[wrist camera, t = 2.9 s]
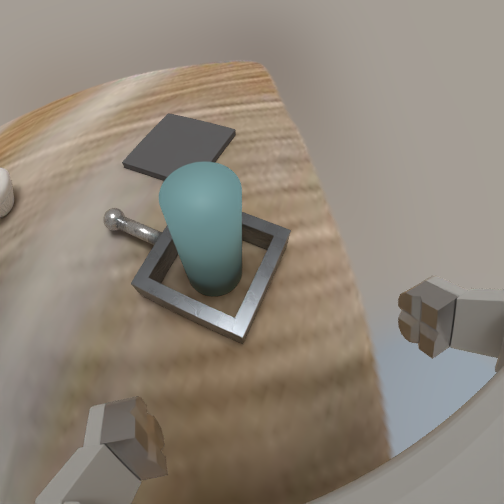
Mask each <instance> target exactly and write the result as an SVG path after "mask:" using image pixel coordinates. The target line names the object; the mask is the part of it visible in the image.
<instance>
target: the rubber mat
mask: <svg viewBox="0 0 504 504" xmlns="http://www.w3.org/2000/svg"><path fill="white" fill-rule="evenodd" d="M235 135H236V134H235V129H232V128H228V127H224V126H220V125H217V124H213V123H209V122H204V121H200V120H196V119H192V118H187V117H183V116H178V115H174V114H169V113H168V114H167V115H166V116H165V117H164V118H163V119H162V120H161V121H160V122H159V123H158V124H157V125H156V126H155V127H154V128H153V129H152V130H151V132H150V133H149V134H148V135H147V136H146V137H145V138H144V139H143V140H142V141H141V142H140V143H139V144H138V145H137V146H136V148H135V149H134V150H133V151H132V152H131V153H130V154H129V155H128V156H127V158H126V159H125V160H124V161H123V162H122V163H123V165H124V168H128V169H131V170H134V171H137V172H140V173H143V174H146V175H149V176H152V177H155V178H158V179H161V180H164V181H165V179H166V178H167V177H168V176H169V175H170V174H171V173H172V172H174V171H175V170H177V169H178V168H180V167H182V166H184V165H187V164H190V163H195V162H214V163H215V162H216V160H217V159H218V158H219V156H220V155H221V153H222V152H223V151H224V149H225V148H226V147H227V145H228V144H229V143H230V141H231V140H232V139H233V137H234V136H235Z"/></svg>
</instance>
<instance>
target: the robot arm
mask: <svg viewBox="0 0 504 504" xmlns="http://www.w3.org/2000/svg"><path fill="white" fill-rule="evenodd" d="M398 306H399V307H400V309H401V310H402V311H401V313H400V315H399V318H398V320H399V321H398V323H399V329H400V331H401V334H402V335H403V336H404V337H405V339H406V340H408V341H409V342H412V343H418V346H419V349H420V350H421V351H423V352H424V353H426V354H427V355H428V356H430V357H431V358H434V357H436V356H437V355H439V354H440V353H441V352H443V351H444V350H446V349H447V348H449V347H451V348H454V349H459V350H464V351H468V352H472V353H477V354H481V355H486V356H491V357H496V358H498V360H497V363H496V366H495V372H497V373H496V374H495V375H494V376H493V377H492V378H491V379H490V380H489V381H488V382H487V383H486V384H485V385H484V386H483V387H482V388H481V389H480V390H479V391H478V392H477V393H476V394H475V395H474V396H473V397H472V398H471V399H470V400H468V401H467V402H466V403H465V404H464V405H463V406H462V407H461V408H459V409H458V410H457V411H456V412H455V413H454V414H452V415H451V416H450V417H449V418H448V419H446V420H445V421H444V422H443V423H441V424H440V425H439V426H438V427H436V428H435V429H434V430H432V431H431V432H430V433H428V434H427V435H426V436H424V437H423V438H422V439H420V440H419V441H417V442H416V443H415V444H413V445H412V446H410V447H409V448H407V449H406V450H404V451H403V452H401V453H400V454H398V455H397V456H395V457H394V458H392V459H390V460H389V461H387V462H386V463H384V464H382V465H381V466H379V467H377V468H376V469H374V470H372V471H370V472H369V473H367V474H365V475H363V476H361V477H360V478H358V479H356V480H354V481H352V482H350V483H348V484H346V485H344V486H342V487H340V488H338V489H336V490H334V491H332V492H330V493H328V494H326V495H323V496H321V497H319V498H317V499H314V500H312V501H310V502H307V503H305V504H504V289H474V288H471V289H469V290H467V289H465V288H463V287H460V286H458V285H456V284H454V283H452V282H450V281H447V280H445V279H443V278H441V277H438V276H431V277H429V278H427V279H426V280H424V281H423V282H422V283H420V284H418V285H416V286H414V287H413V288H411V289H409V290H407V291H405V292H403V293H402V294H400V296H399V299H398ZM164 445H165V444H164V436H163V433H162V430H161V427H160V425H159V423H158V421H157V420H156V418H155V417H154V416H153V415H151V414H149V413H147V405H146V404H145V402H144V401H143V399H142V398H141V397H139V396H136V397H132V398H127V399H123V400H118V401H113V402H108V403H104V404H99V405H95V406H92V407H91V408H90V411H89V416H88V422H87V427H86V433H85V439H84V445H83V447H81V448H78V449H77V451H76V452H75V453H74V454H73V455H72V456H71V458H70V459H69V460H68V461H67V462H66V464H65V465H64V466H63V467H62V468H61V470H60V471H59V472H58V473H57V474H56V475H55V477H54V478H53V479H52V480H51V481H50V483H49V484H48V485H47V486H46V487H45V489H44V490H43V491H42V492H41V493H40V494H39V496H38V497H37V498H36V500H35V504H131V502H132V500H133V498H134V496H135V494H136V492H137V490H138V488H139V486H140V484H141V480H146V479H151V478H156V477H161V476H165V475H168V470H167V462H166V456H165V455H164V454H163V453H162V451H161V450H162V448H163V447H164Z"/></svg>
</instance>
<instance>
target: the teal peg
mask: <svg viewBox="0 0 504 504" xmlns="http://www.w3.org/2000/svg"><path fill="white" fill-rule="evenodd" d="M159 203H160V206H161V209H162V212H163V215H164V217H165V220H166V223H167V225H168V228H169V231H170V233H171V236H172V239H173V241H174V244H175V246H176V249H177V251H178V254H179V256H180V259H181V261H182V264H183V266H184V269H185V271H186V274H187V276H188V279H189V281H190V283H191V285H192V286H193V287H194V288H195V289H196V290H197V291H198V292H200V293H201V294H204V295H207V296H221V295H224V294H227V293H229V292H230V291H232V290H233V289H234V288H235V287H236V286H237V284H238V283H239V281H240V279H241V275H242V187H241V183H240V180H239V179H238V177H237V175H236V174H235V173H234V172H233V171H232V170H230V169H229V168H228V167H226V166H224V165H221V164H218V163H214V162H195V163H190V164H187V165H184V166H182V167H180V168H178V169H177V170H175V171H174V172H172V173H171V174H170V175H169V176H168V177H167V178H166V179H165V181H164V182H163V184H162V186H161V189H160V192H159Z"/></svg>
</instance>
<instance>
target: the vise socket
mask: <svg viewBox="0 0 504 504" xmlns="http://www.w3.org/2000/svg"><path fill="white" fill-rule="evenodd" d="M103 220H104V224H105V226H106V227H107V228H108V229H109V230H112V231H116V230H119V229H120V230H122V231H124V232H127V233H129V234H131V235H133V236H135V237H137V238H140V239H142V240H144V241H146V242H148V243H151V244H153V245H154V247H153V248H152V250H151V251H150V253H149V254H148V256H147V258H146V259H145V261H144V263H143V264H142V266H141V267H140V269H139V271H138V272H137V274H136V276H135V277H134V279H133V281H132V282H131V284H132V285H133V286H134V288H135V289H136V290H137V291H138V292H139V293H140V295H142V296H144V297H145V298H147V299H149V300H151V301H153V302H155V303H157V304H159V305H161V306H163V307H165V308H167V309H169V310H171V311H173V312H175V313H177V314H179V315H181V316H183V317H185V318H187V319H189V320H191V321H193V322H195V323H197V324H200V325H202V326H204V327H206V328H208V329H210V330H212V331H215V332H217V333H219V334H221V335H223V336H226V337H228V338H230V339H232V340H235V341H237V342H239V343H241V344H243V342H244V340H245V338H246V336H247V334H248V332H249V329H250V327H251V325H252V323H253V321H254V319H255V316H256V314H257V312H258V310H259V308H260V305H261V303H262V301H263V299H264V296H265V294H266V292H267V290H268V288H269V285H270V283H271V281H272V279H273V276H274V274H275V272H276V270H277V267H278V265H279V263H280V260H281V258H282V256H283V254H284V251H285V249H286V247H287V243H288V239H289V236H290V232H291V230H289V229H286V228H283V227H281V226H278V225H275V224H273V223H270V222H268V221H265V220H262V219H260V218H257V217H254V216H252V215H249V214H246V213H244V212H242V240H244V241H247V242H249V243H252V244H254V245H257V246H259V247H262V248H264V249H267V252H266V254H265V256H264V258H263V261H262V263H261V265H260V267H259V269H258V271H257V273H256V275H255V277H254V280H253V282H252V284H251V286H250V288H249V290H248V292H247V294H246V296H245V298H244V301H243V303H242V305H241V307H240V309H239V311H238V313H237V315H236V317H235V318H234V317H232V316H229V315H227V314H225V313H222V312H220V311H218V310H216V309H214V308H211V307H209V306H207V305H205V304H203V303H200V302H198V301H196V300H194V299H192V298H190V297H187V296H185V295H183V294H181V293H179V292H177V291H175V290H173V289H171V288H169V287H167V286H164V285H162V284H160V283H161V282H162V280H163V278H164V277H165V275H166V273H167V271H168V270H169V268H170V266H171V265H172V263H173V261H174V260H175V258H176V256H177V255H178V251H177V249H176V246H175V244H174V241H173V239H172V236H171V233H170V231H169V228H168V225H167V226H166V228H165V230H164V231H163V233H162V232H160V231H158V230H155V229H153V228H151V227H148V226H146V225H144V224H141V223H139V222H137V221H134V220H132V219H130V218H127V217H125V216H124V213H123V212H122V211H121V210H120V209H118V208H111V209H109V210H108V211H107V212H106V213H105V215H104V219H103Z"/></svg>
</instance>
